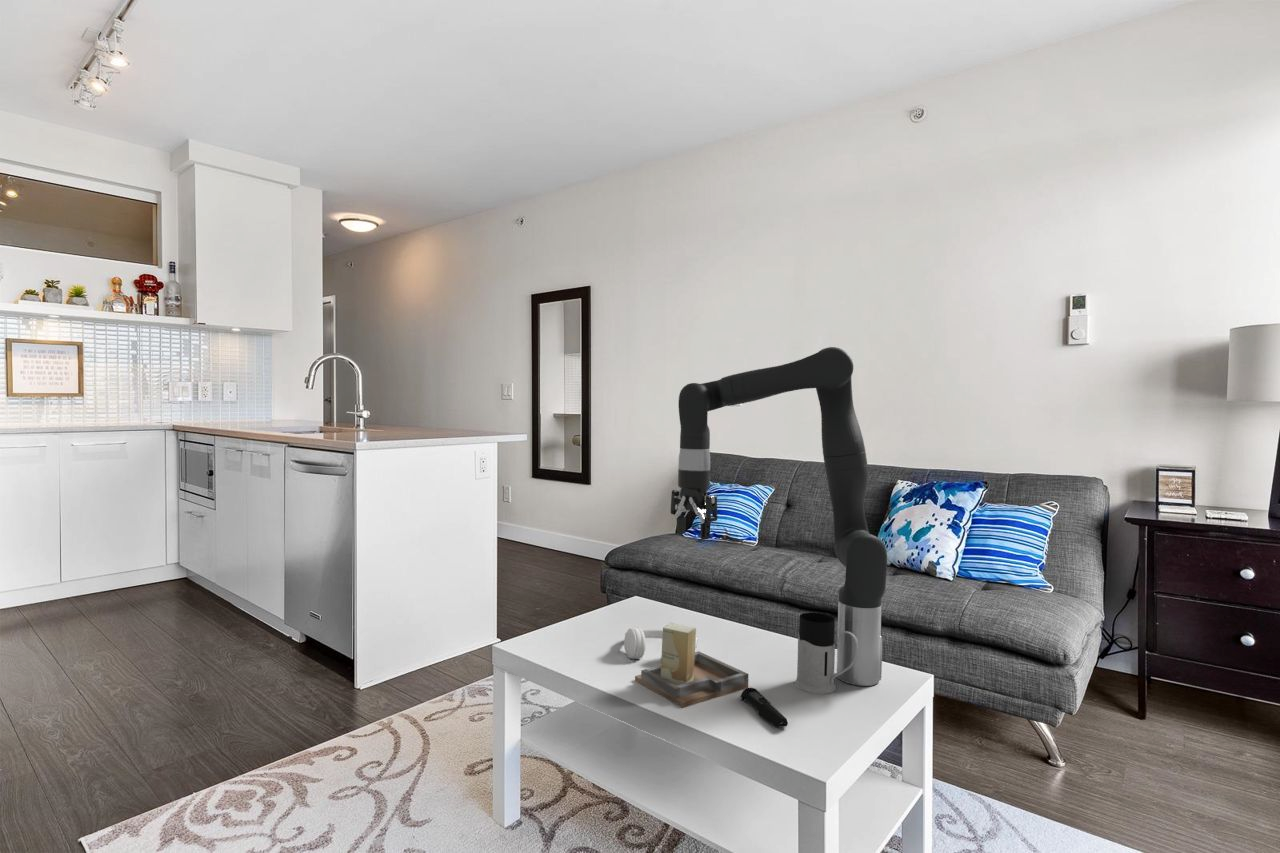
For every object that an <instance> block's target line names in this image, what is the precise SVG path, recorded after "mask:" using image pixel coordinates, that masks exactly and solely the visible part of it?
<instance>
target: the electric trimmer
mask: <svg viewBox="0 0 1280 853" xmlns="http://www.w3.org/2000/svg"><path fill="white" fill-rule="evenodd" d="M740 700H741V701H746V702H747V704H749V705H750V706H752V707H753V708H754V709H755V710H756V711H757V713H758V716H759V718H762V719H764V721H766V722H768V723H769V724H771V725H772V726H774V727H776V728H781V727H782V728H783V727H787V726H788V725H789V722H788V719H787V718H786V717H785V716H784V715H783V713H781V712H780V711H779V710H778V709H777V708H776V707H774V705H773V704H771V702H770V701H769V700H768V699H767V698H766V697H765V696H763V694H761V692H760V691H758V690H757V688H755V687H748V688H745V689H743V691H742V693H741V694H740Z"/></svg>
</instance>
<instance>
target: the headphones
mask: <svg viewBox="0 0 1280 853" xmlns="http://www.w3.org/2000/svg"><path fill="white" fill-rule="evenodd" d="M662 637H663V629H659V630H658V629H641V628H640V627H636V628H634V627H633V628H629V629H628V630H627V631H626V632H625V633H624V640H623V641H624V642H623V644H624V645H623V647H624V651H625V654H626V656H627V657H628V659H635V660H636V659H637V660H641V659H642V658H643V656H644V654H645V651H646V639H647V638H650V639H653V638H656V639H657V638H660V639H662ZM697 647H698V637H697V636H696V640H695V649H696V648H697Z"/></svg>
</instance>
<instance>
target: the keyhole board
mask: <svg viewBox="0 0 1280 853" xmlns="http://www.w3.org/2000/svg"><path fill="white" fill-rule="evenodd" d="M634 681H635V682H636V683H638V684H641V685H642V686H644V687H645V688H647V689H649V690H651V691H653V692H654V693H656V694H658V695H660V696H661V697H663V698H665V699H666V700H668V701H670V702H671V703H673V704H675V705H677V706H678V707H680V708H686V707H689V706H693V705H697V704H698V703H702V702H705V701H710V700H712V699H716V698H719V697H722V696H725V695H729V694H732V693H736V692H740V691H742V690H745V689H746V688H749V673H748V672H746V671H743V670H741V669H740V668H739V669H738V668H736V667H734V666H732V665H729V664H728V663H725V662H723V661H721V660H719V659H716V658H714V657H712V656H710V655H708V654H706V653H703V652H701V651H695V659H694V679H693V681H692V682H688V683H684V684H681V685H677V686H676V685H674V684H672V683H671V682H669V681H667V680H665V679H663V678H661V664H660V665H656V666H652V667H649V668H645V669H641V672H640V674H637V675H634Z"/></svg>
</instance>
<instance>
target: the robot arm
mask: <svg viewBox="0 0 1280 853" xmlns="http://www.w3.org/2000/svg"><path fill="white" fill-rule="evenodd" d="M853 373H854V362H853V359H852V357H851V355H850V354H849V353H848V352H846V350H843V349H842V348H840V347H835V346H828V347H825V348H822V349H821V350H819V351H818V352H816V353H813V354H811V355H808V356H806V357H804V358H801V359H798V360H794V361H791V362H788V363H785V364H781V365H777V366H770V367H765V368H757V369H752V370H748V371H743V372H738V373H736V374H735V373H734V374H731V375H727V376H724V377H721V378H720V379H718V380H712V381H708V382H704V383H703V382H702V383H699V382H691V383H687V384H686V385H684V386H683V387H682V389H681V390H680V392H679V395H678V416H679V424H680V433H679V454H678V467H677V468H678V473H677V480H678V481H677V486H678V488H680V489H672V490H671V499H670V514H671V515H673V516H675V518H676V533H677V534H679V535H685V534H686V532H687V518H686V516H687V514H688V513H689V512H690V511H691V512H694V513H695V515H697V517H698V518H699V521H700V525H699V526H700V529H699V530H700V532H699V533H700V534H699V539H701V540H709V538H710V536H711V523H713V522H717V520H718V496H717V495H716V494H710V495H708V491H707V490H709V488H710V487H711V454H710V452H711V451H710V446H711V443H710V442H711V434H710V431H711V430H710V427H709V425H708V414H709V413H708V412H710V411H716V410H718V409H721V408H725V407H729V406H737V405H741V404H746V403H752V402H756V401H759V400H763V399H767V398H770V397H772V396H777V395H780V394H784V393H788V392H793V391H794V392H795V391H800V390H806V389H815V391H816V395H817V399H818V402H819V408H820V415H821V416H820V417H821V418H820V419H821V448H822V455H823V461H824V470H825V473H826V474H825V475H826V479H827V485H828V491H829V497H830V502H831V503H830V504H831V508H832V513H833V515H832V516H833V532H834V536H833V538H834V550H835V555H836V557H837V559H838V560H839V562H840V564H842V566H843V567H845V577H844V584H843V586H840V588H839V590H838V604H837V607H838V608H837V609H838V610H837V638H838V637H839V635H840V634H841V633H842V632H845V631H848V632H851V633H852V634H854V636H855V637H856V638H857V641H858V653H857V657H856V659H855V662H854V663H853V665H852V667H851V668H849V669H848V670H847V671H845V672H844V673H842V674H840V675H838V676H837V677H836V678H838V680H841V681H842V682H844V683H846V684H851V685H854V686H862V687H868V686H869V687H870V686H875V685H878V684H879V683H880V679H882V672H883V671H882V669H883V667H882V666H883V665H882V664H883V636H881V632H882V629H881V628H882V600H883V596H884V594H885V591H886V587H887V584H886V583H887V572H888V571H887V569H888V554H887V552H888V551H887V548H886V546H885V543H884V542H883V541H882V540H881V539H880V538H879V537H877V535H876V536H875V535H874V534H871V533H870V531H869V528H868V524H867V518H866V514H865V496H866V491H867V486H868V480H869V466H868V459H867V452H866V446H865V443H864V437H863V434H862V430H861V428H860V424H859V420H858V418H857V413H856V412H855V407H854V400H853V388H852V387H853V386H852V376H853ZM836 643H837V645H838V639H837V642H836ZM854 654H855V641H854V638H853V637H852V636H851V635H849V634H847V633H845V634H843V635H842V637H841V642H840V647H839V648H837V649H836V674H838V673H840V672H841V671H843V670H844V669H846V668H847V667H848V666H849V665H850V663H851V662H852V660H853V658H854Z"/></svg>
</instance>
